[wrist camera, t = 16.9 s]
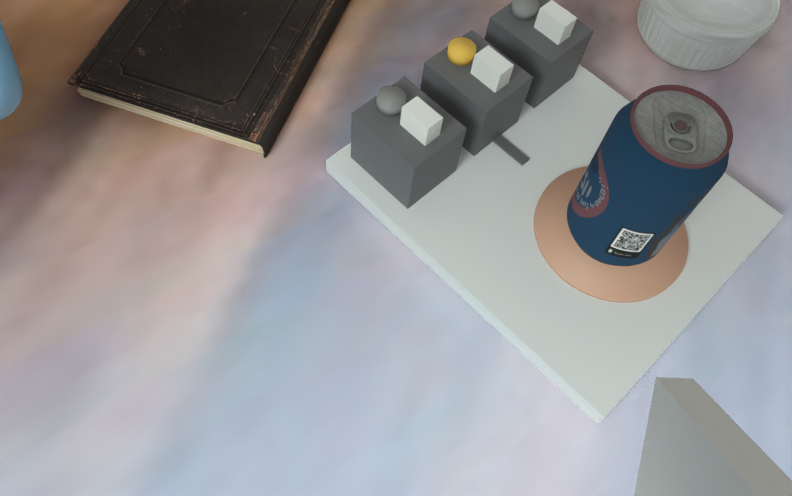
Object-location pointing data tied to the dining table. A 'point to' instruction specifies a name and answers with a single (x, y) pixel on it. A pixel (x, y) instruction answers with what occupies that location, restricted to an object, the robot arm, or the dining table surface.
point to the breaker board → (535, 203)
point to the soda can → (649, 174)
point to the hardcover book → (211, 63)
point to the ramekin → (704, 29)
